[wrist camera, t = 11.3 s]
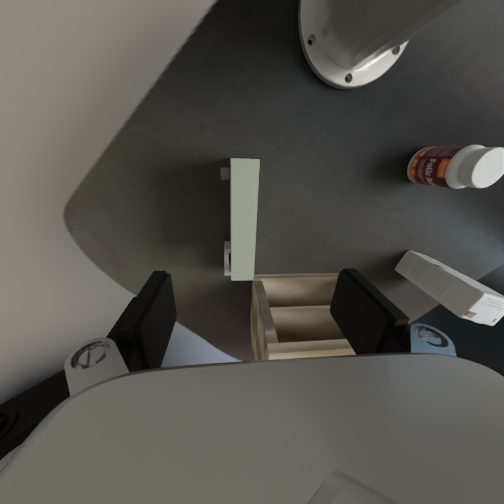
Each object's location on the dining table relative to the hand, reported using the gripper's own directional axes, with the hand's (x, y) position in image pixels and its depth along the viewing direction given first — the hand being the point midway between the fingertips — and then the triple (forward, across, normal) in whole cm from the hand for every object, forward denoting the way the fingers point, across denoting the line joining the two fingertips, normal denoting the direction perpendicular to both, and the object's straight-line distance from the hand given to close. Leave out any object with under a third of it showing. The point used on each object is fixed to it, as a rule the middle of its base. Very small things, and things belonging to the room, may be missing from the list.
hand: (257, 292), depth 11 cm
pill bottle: (+20, -26, -7) cm, 33 cm away
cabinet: (+19, -9, +15) cm, 26 cm away
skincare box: (+20, -31, +9) cm, 38 cm away
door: (+19, 0, +1) cm, 19 cm away
